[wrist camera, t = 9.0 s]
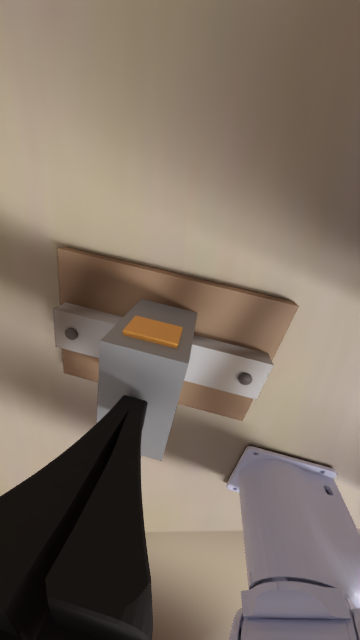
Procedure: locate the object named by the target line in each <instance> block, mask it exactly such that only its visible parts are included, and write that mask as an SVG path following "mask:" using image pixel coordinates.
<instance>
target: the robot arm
mask: <svg viewBox="0 0 360 640" xmlns="http://www.w3.org/2000/svg"><path fill="white" fill-rule="evenodd" d="M147 405H148V402H147V401H145V400H142V399H138V398H134V397H131V396H127V395H123V396H122V397H121V398H120V400H119V401H118V402H117V403H116V404H115V405H114V406H113V407H112V409H111V410H110V411H109V412H108V413H107V414H106V415H105V416H104V417H103V418H102V419H101V420H100V421H99V422H98V423H97V424H96V425H95V426H94V427H93V428H92V429H90V430H89V431H88V432H87V433H86V434H85V435H84V436H83V437H81V438H80V439H79V440H78V441H77V442H76V443H75V444H73V445H72V446H71V447H70V448H68V449H67V450H66V451H65V452H63V453H62V454H61V455H60V456H58V457H57V458H56V459H54V460H53V461H52V462H50V463H49V464H48V465H46V466H45V467H44V468H42V469H41V470H39V471H38V472H37V473H35V474H34V475H32V476H31V477H29V478H28V479H26V480H25V481H23V482H22V483H20V484H19V485H17V486H16V487H14V488H13V489H11V490H10V491H8V492H6V493H5V494H3V495H2V496H0V640H152V632H153V615H152V593H151V576H150V569H149V562H148V555H147V547H146V538H145V530H144V519H143V507H142V493H141V437H142V429H143V426H144V420H145V415H146V410H147ZM336 476H337V473H336V471H335V469H333V468H329V467H326V466H322V465H318V464H315V463H311V462H307V461H304V460H300V459H296V458H293V457H289V456H285V455H282V454H278V453H275V452H271V451H267V450H264V449H260V448H256V447H253V446H248V447H247V448H246V449H245V451H244V453H243V455H242V457H241V458H240V460H239V462H238V464H237V466H236V468H235V469H234V471H233V473H232V475H231V477H230V478H229V480H228V482H227V488H228V489H229V490H232V491H236V492H239V493H240V503H241V514H242V524H243V534H244V544H245V554H246V564H247V575H248V585H249V590H246V591H241V598H242V608H241V609H239V610H238V611H237V613H236V615H235V617H234V620H233V625H232V629H231V633H230V638H229V640H360V534H359V532H358V530H357V528H356V526H355V523H354V521H353V519H352V517H351V515H350V513H349V511H348V509H347V507H346V504H345V502H344V500H343V498H342V496H341V494H340V492H339V490H338V488H337V485H336V483H335V481H334V478H335V477H336Z"/></svg>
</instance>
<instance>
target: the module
mask: <svg viewBox="0 0 360 640" xmlns="http://www.w3.org/2000/svg"><path fill="white" fill-rule="evenodd" d="M197 314H198V313H196V312H192V311H188V310H184V309H180V308H176V307H172V306H168V305H164V304H160V303H156V302H152V301H148V300H144V299H141V300H140V301H139V302H138V303H137V304H136V305H135V306H134V307H133V308H132V309H131V310H130V311H129V312H128V313H127V314H126V315H125V316H124V317H123V318H122V319H121V320H120V321H119V322H118V323H117V324H116V325H115V326H114V327H113V328H112V329H111V330H110V331H109V332H108V333H107V334H106V335H105V336H104V337H103V338H102V339H101V340H100V354H99V378H98V402H97V423H98V422H99V421H100V420H101V419H102V418H103V417H104V416H105V415H106V414H107V413H108V412H109V411H110V410H111V409H112V407H113V406H114V405H115V404H116V403H117V402H118V401H119V400H120V398H121V397H122V396H123V395H127V396H131V397H134V398H138V399H142V400H145V401H147V402H148V405H147V410H146V415H145V420H144V426H143V429H142V437H141V455H143V456H146V457H150V458H153V459H157V460H160V461H162V458H163V454H164V451H165V447H166V444H167V440H168V436H169V433H170V429H171V426H172V422H173V418H174V415H175V411H176V408H177V404H178V400H179V397H180V393H181V390H182V386H183V382H184V379H185V375H186V371H187V368H188V364H189V359H190V353H191V348H192V342H193V337H194V331H195V325H196V320H197Z"/></svg>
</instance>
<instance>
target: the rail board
mask: <svg viewBox="0 0 360 640" xmlns="http://www.w3.org/2000/svg"><path fill="white" fill-rule="evenodd" d="M57 254H58V273H59V292H60V306H58V307H56V308H54V309H53V315H54V329H55V343H56V347H59V348H62V349H63V368H64V373H66V374H70V375H73V376H77V377H81V378H84V379H88V380H92V381H96V382H98V378H99V354H100V340H101V339H102V338H103V337H104V336H105V335H106V334H107V333H108V332H109V331H110V330H111V329H112V328H113V327H114V326H115V325H116V324H117V323H118V322H119V321H120V320H121V319H122V318H123V317H124V316H125V315H126V314H127V313H128V312H129V311H130V310H131V309H132V308H133V307H134V306H135V305H136V304H137V303H138V302H139V301H140V300H141V299H144V300H148V301H152V302H156V303H160V304H164V305H168V306H172V307H176V308H180V309H184V310H188V311H192V312H196V313H198V314H197V320H196V325H195V331H194V337H193V342H192V348H191V353H190V359H189V364H188V368H187V371H186V375H185V379H184V382H183V386H182V390H181V393H180V397H179V400H178V404H181V405H185V406H189V407H192V408H196V409H200V410H203V411H207V412H211V413H215V414H218V415H222V416H226V417H230V418H233V419H237V420H241V421H243V419H244V417H245V415H246V413H247V411H248V409H249V407H250V405H251V403H252V401H253V399H257V397H258V395H259V393H260V391H261V389H262V387H263V385H264V383H265V381H266V379H267V377H268V375H269V373H270V371H271V369H272V367H273V363H272V360H273V358H274V356H275V354H276V352H277V350H278V348H279V346H280V344H281V342H282V340H283V338H284V336H285V334H286V332H287V330H288V327H289V325H290V323H291V321H292V319H293V317H294V315H295V313H296V311H297V309H298V307H299V306H298V305H297V304H296V303H295V302H293V301H289V300H285V299H281V298H276V297H272V296H268V295H264V294H260V293H256V292H251V291H247V290H243V289H239V288H235V287H231V286H226V285H222V284H218V283H214V282H210V281H206V280H201V279H197V278H193V277H189V276H185V275H181V274H176V273H172V272H168V271H164V270H160V269H156V268H151V267H147V266H143V265H139V264H135V263H131V262H126V261H122V260H118V259H114V258H110V257H106V256H101V255H97V254H93V253H89V252H85V251H81V250H76V249H72V248H68V247H62V248H57Z"/></svg>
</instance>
